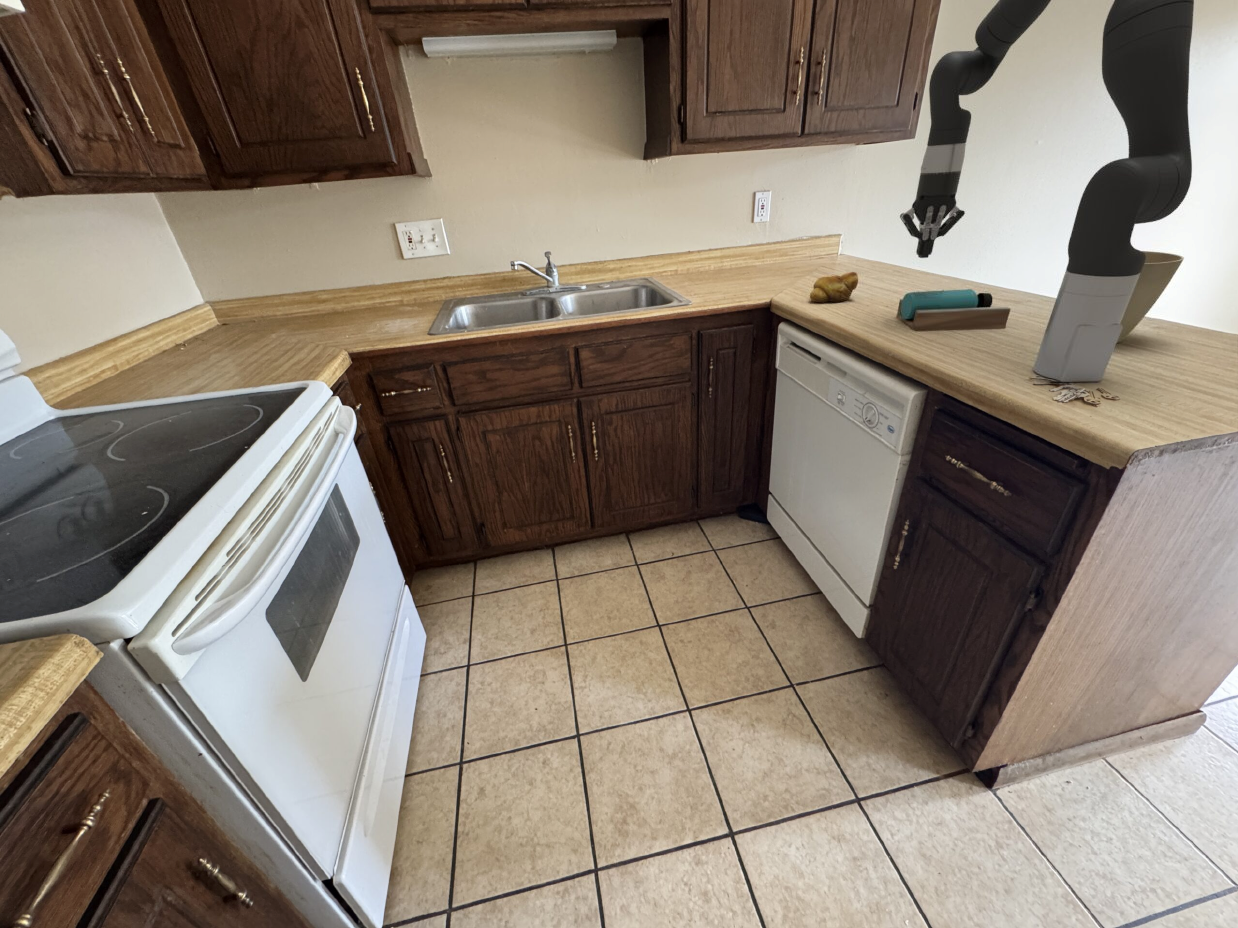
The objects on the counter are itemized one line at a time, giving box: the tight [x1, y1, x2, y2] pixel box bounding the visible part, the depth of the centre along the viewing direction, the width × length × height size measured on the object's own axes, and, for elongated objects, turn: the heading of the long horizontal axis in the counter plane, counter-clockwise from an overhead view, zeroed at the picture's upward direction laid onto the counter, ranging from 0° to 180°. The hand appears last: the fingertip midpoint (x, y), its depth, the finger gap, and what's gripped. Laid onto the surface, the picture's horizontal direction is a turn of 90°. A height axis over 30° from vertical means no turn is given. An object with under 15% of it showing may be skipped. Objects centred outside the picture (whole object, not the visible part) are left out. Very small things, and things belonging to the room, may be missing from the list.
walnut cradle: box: [896, 298, 1011, 332], centre depth 123 cm, size 13×19×4 cm
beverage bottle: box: [901, 288, 993, 320], centre depth 123 cm, size 6×7×20 cm
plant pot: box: [1116, 250, 1185, 344], centre depth 103 cm, size 15×15×16 cm
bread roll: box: [809, 271, 859, 303], centre depth 149 cm, size 13×10×8 cm
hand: (923, 257), depth 118 cm, fingers closed
